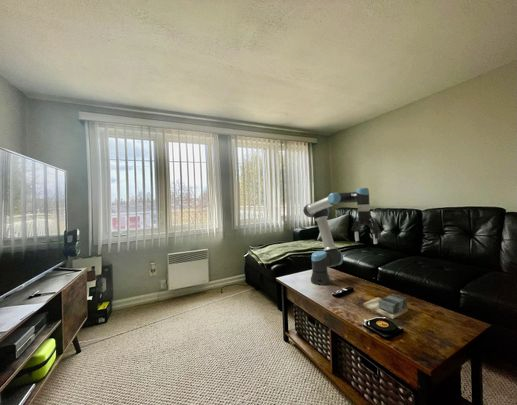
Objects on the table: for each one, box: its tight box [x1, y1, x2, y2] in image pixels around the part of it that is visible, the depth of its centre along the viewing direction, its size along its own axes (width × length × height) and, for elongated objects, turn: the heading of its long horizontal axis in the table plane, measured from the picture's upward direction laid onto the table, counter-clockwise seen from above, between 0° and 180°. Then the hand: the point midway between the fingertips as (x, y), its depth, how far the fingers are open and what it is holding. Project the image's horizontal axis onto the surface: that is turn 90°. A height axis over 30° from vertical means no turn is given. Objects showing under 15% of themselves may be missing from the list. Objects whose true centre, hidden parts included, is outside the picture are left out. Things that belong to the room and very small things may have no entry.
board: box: [362, 297, 409, 320], centre depth 119 cm, size 17×14×2 cm
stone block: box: [379, 293, 408, 314], centre depth 117 cm, size 9×14×5 cm, turn 119°
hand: (365, 242), depth 139 cm, fingers open, 13 cm apart
